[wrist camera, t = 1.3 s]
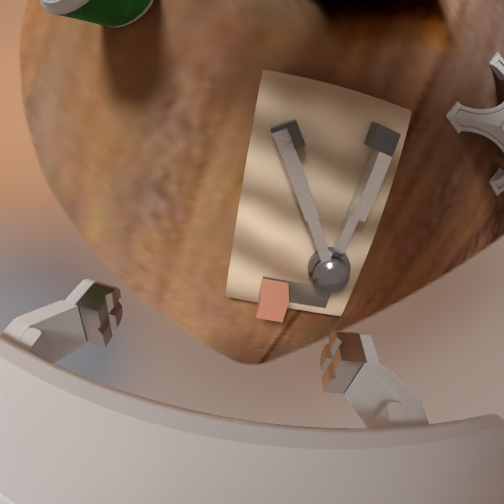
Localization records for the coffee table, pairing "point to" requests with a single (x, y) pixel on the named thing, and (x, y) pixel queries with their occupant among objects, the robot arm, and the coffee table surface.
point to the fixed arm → (364, 188)
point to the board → (320, 182)
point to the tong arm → (309, 209)
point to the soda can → (99, 10)
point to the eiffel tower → (484, 122)
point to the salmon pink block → (273, 300)
